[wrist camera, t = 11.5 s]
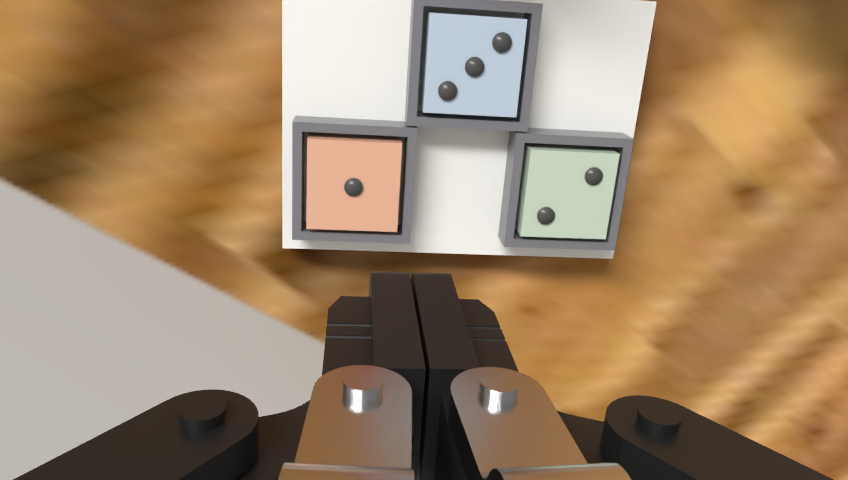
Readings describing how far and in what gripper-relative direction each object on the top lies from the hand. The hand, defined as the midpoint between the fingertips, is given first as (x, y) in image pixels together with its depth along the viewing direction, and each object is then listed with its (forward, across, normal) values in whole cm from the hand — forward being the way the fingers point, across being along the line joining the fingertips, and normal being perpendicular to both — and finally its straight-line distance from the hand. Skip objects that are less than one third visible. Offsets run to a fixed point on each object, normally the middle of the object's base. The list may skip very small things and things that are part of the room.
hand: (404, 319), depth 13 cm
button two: (+27, -11, +4) cm, 29 cm away
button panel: (+29, -5, +2) cm, 29 cm away
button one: (+27, +1, +4) cm, 27 cm away
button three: (+27, -5, -2) cm, 27 cm away
